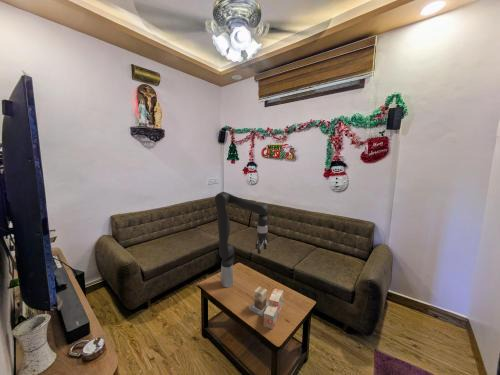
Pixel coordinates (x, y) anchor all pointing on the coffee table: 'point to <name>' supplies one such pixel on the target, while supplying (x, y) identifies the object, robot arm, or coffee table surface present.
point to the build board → (258, 311)
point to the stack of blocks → (273, 308)
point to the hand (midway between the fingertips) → (262, 251)
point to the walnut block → (259, 304)
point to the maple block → (260, 294)
